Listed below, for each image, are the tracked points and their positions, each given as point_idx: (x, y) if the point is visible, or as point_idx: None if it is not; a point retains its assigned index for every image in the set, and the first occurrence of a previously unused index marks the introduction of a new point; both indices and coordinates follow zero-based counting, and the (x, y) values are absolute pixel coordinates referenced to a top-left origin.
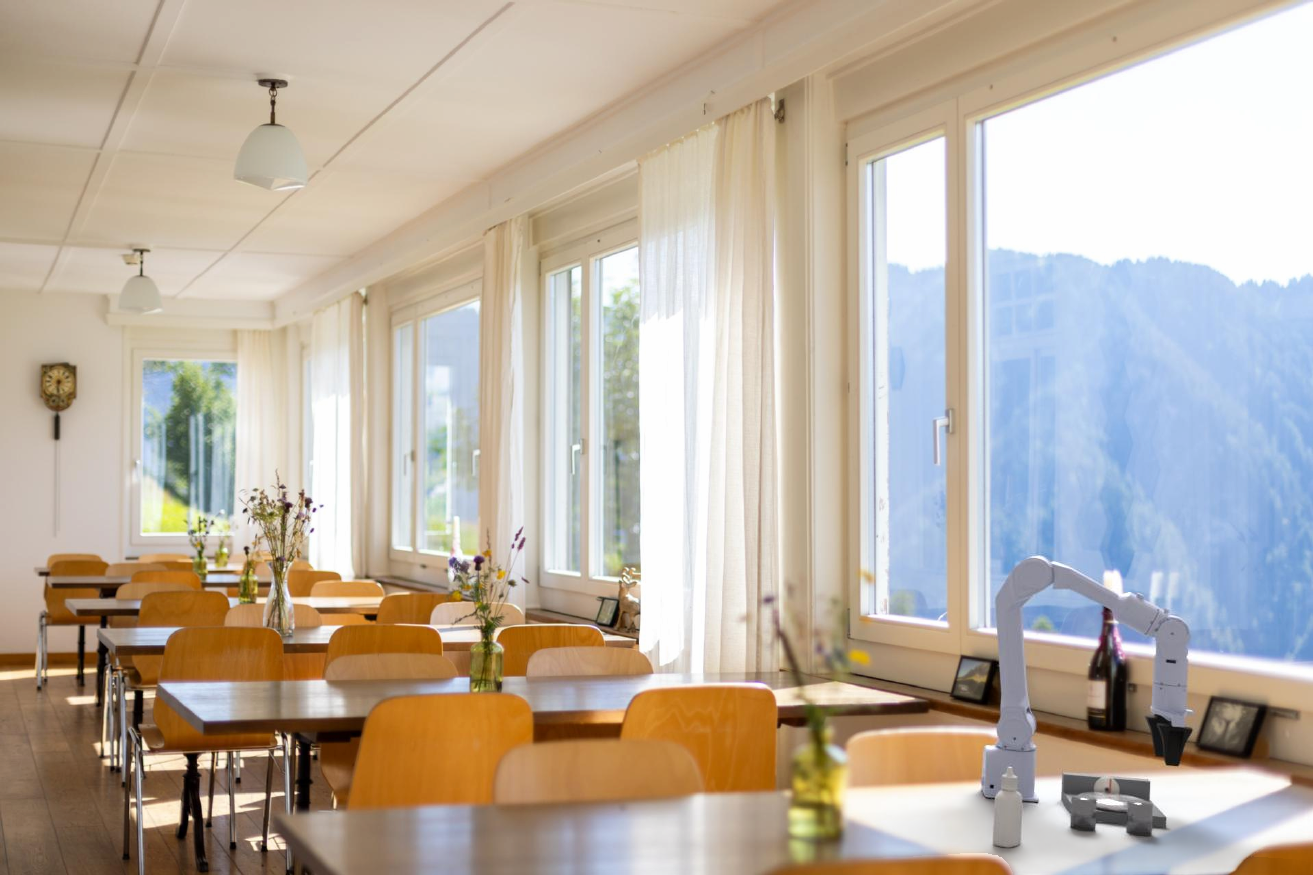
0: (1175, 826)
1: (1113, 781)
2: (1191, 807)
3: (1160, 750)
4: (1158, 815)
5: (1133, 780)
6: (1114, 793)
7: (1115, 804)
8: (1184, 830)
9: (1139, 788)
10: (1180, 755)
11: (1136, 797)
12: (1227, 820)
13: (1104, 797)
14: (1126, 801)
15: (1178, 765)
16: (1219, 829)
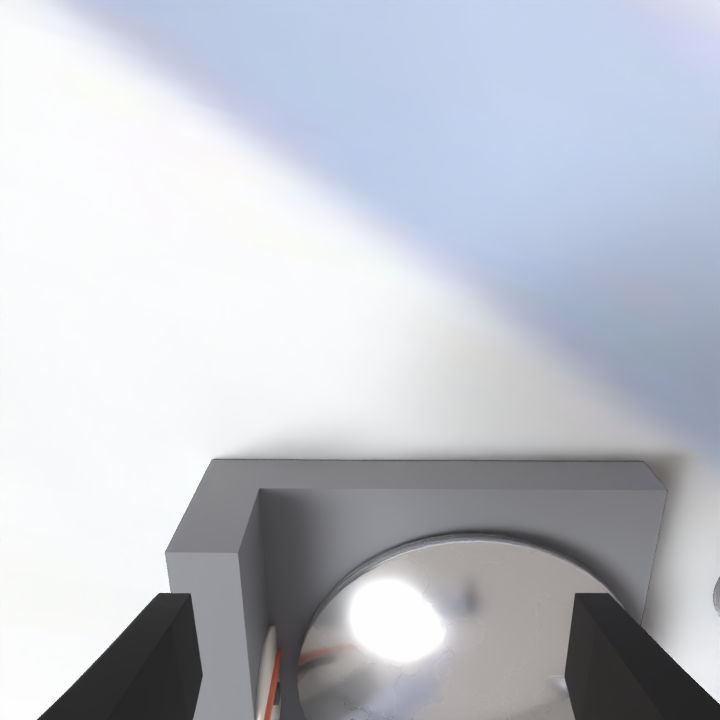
0: (599, 409)
1: (264, 708)
2: (90, 216)
3: (179, 698)
4: (634, 518)
5: (246, 633)
6: (306, 659)
7: (562, 694)
8: (674, 384)
9: (251, 571)
10: (682, 676)
11: (357, 579)
12: (353, 63)
13: (424, 713)
14: (477, 640)
15: (612, 598)
16: (608, 183)
